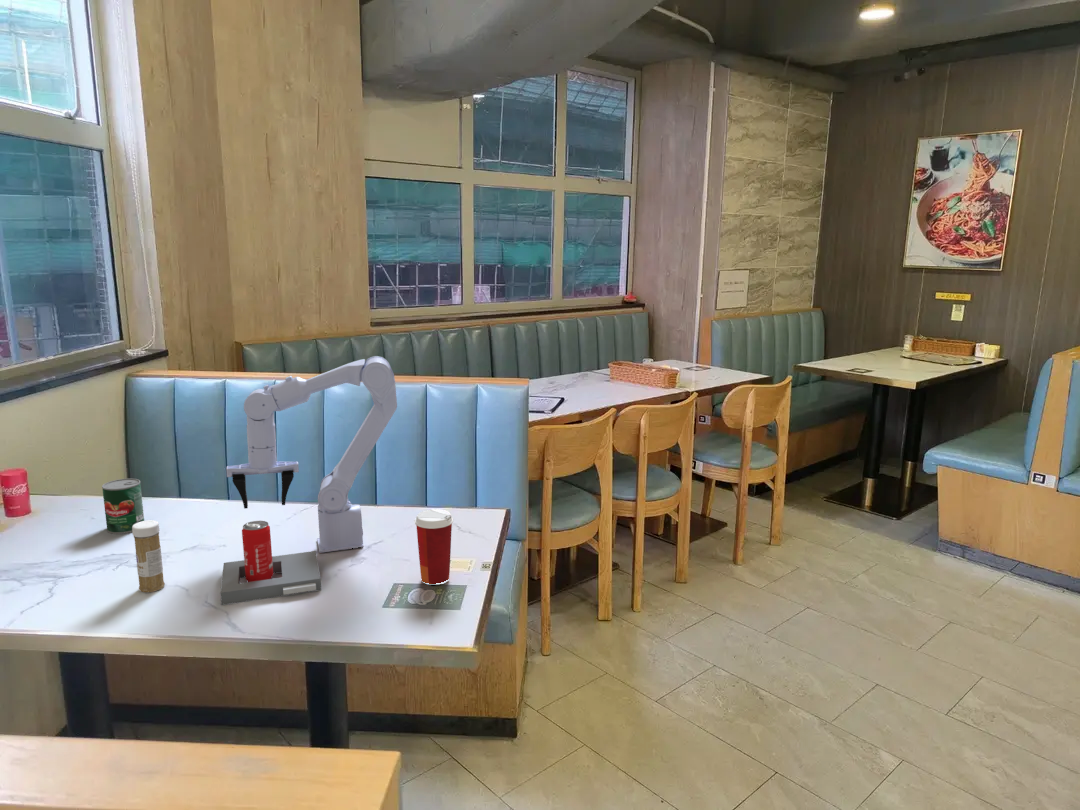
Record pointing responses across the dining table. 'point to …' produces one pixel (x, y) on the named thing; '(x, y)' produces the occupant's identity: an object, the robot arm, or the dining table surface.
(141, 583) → the sprinkles bottle
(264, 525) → the red soda can
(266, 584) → the grey tray with recess
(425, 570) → the paper cup
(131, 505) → the canned tomato
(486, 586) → the dining table surface
